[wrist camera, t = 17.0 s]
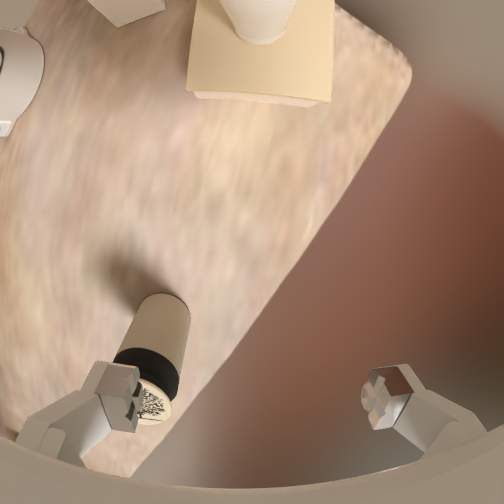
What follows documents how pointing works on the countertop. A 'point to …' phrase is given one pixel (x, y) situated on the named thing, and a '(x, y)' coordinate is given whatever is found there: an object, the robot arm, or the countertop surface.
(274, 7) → the white ceramic cup
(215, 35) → the painted box
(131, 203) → the countertop surface
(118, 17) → the milk carton
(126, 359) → the travel mug
